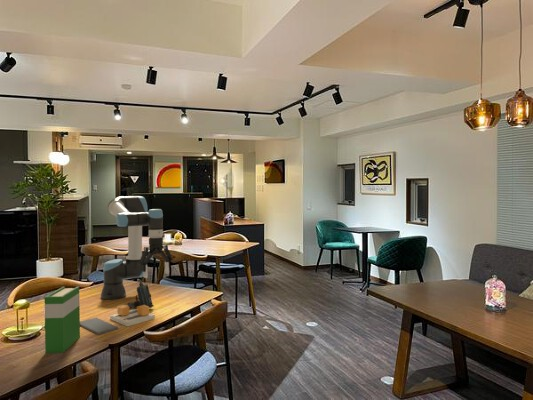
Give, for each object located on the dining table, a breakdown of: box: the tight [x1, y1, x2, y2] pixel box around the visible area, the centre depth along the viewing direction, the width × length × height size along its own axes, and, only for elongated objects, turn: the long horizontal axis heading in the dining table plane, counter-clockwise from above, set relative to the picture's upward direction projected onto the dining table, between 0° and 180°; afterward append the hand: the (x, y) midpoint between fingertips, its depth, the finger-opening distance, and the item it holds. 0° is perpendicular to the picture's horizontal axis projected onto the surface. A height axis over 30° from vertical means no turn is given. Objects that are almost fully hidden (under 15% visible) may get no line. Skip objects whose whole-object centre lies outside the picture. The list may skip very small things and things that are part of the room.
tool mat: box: [80, 317, 119, 335], centre depth 200 cm, size 22×10×1 cm, turn 50°
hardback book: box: [44, 285, 81, 354], centre depth 176 cm, size 18×7×24 cm, turn 4°
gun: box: [127, 279, 155, 309], centre depth 230 cm, size 3×17×15 cm
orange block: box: [136, 305, 150, 316], centre depth 212 cm, size 5×4×4 cm
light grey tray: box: [109, 308, 156, 327], centre depth 211 cm, size 17×16×2 cm
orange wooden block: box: [116, 304, 130, 316], centre depth 212 cm, size 5×4×4 cm
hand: (156, 275), depth 218 cm, fingers open, 13 cm apart
